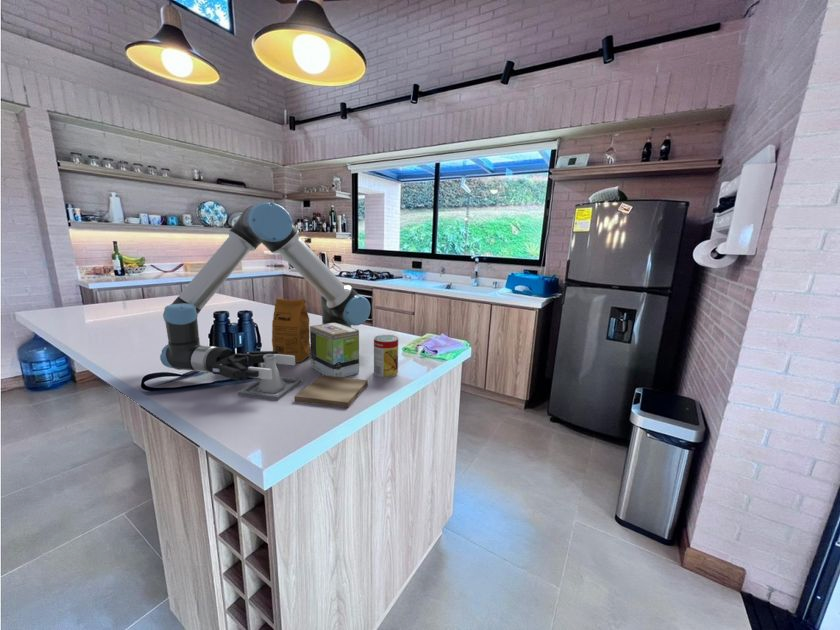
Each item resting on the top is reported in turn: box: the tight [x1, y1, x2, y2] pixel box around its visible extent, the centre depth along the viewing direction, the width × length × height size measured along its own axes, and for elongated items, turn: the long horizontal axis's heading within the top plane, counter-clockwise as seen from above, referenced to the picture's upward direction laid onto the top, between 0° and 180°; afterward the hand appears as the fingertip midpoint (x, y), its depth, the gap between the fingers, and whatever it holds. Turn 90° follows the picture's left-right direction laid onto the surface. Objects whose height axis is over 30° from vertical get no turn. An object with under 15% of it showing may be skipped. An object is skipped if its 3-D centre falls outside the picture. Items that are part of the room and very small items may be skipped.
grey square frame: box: [237, 376, 303, 401], centre depth 94 cm, size 12×12×1 cm
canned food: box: [373, 334, 399, 378], centre depth 108 cm, size 8×8×12 cm
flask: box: [256, 354, 286, 394], centre depth 93 cm, size 7×7×10 cm
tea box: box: [309, 323, 360, 378], centre depth 108 cm, size 15×10×15 cm, turn 44°
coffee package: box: [271, 297, 311, 363], centre depth 118 cm, size 10×12×22 cm
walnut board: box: [294, 374, 369, 409], centre depth 93 cm, size 15×15×2 cm
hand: (283, 366), depth 92 cm, fingers open, 10 cm apart
